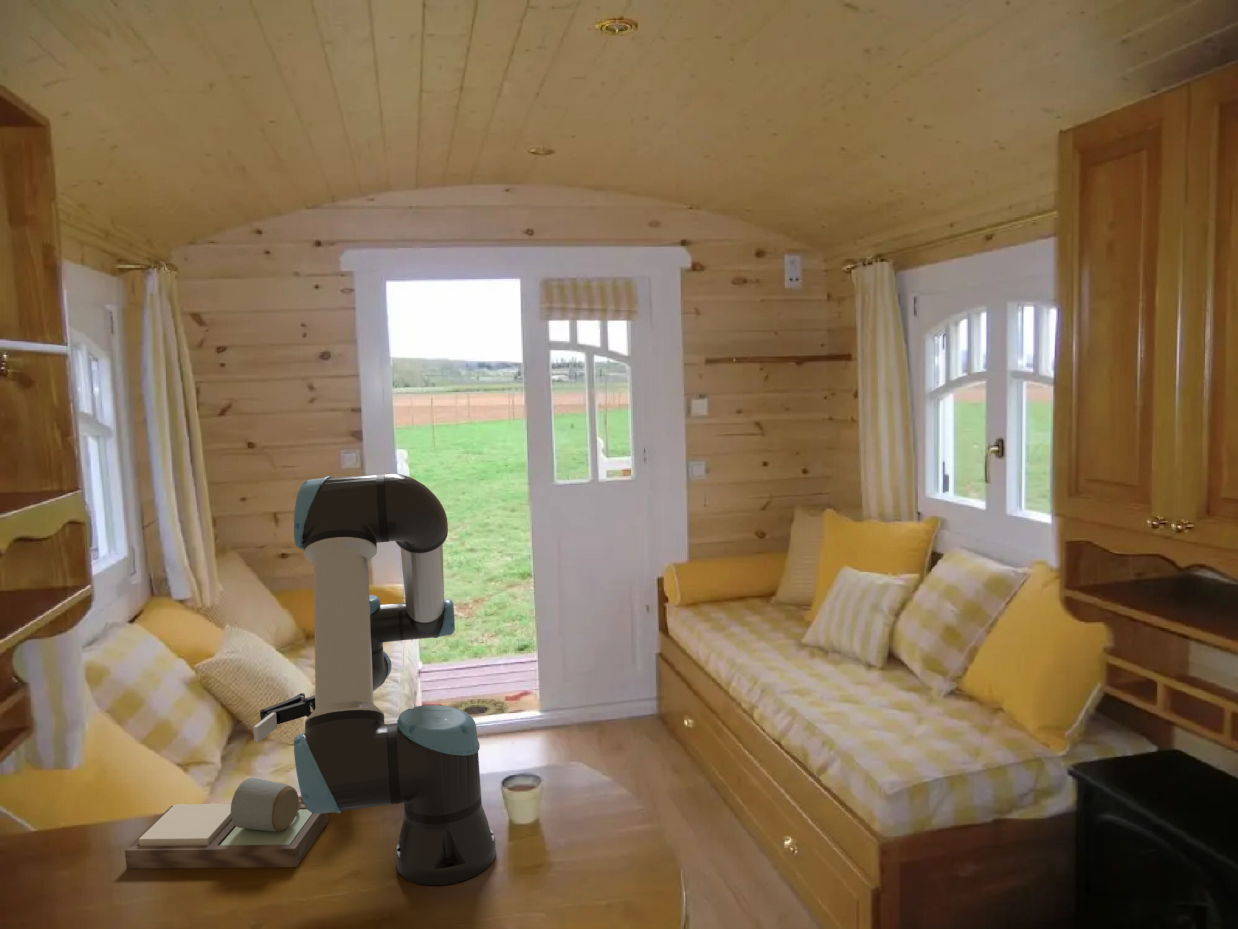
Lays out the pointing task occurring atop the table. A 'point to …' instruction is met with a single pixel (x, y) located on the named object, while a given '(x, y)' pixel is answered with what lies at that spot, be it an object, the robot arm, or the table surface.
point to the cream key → (188, 825)
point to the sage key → (269, 833)
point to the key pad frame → (226, 851)
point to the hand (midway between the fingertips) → (293, 735)
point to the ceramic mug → (264, 805)
